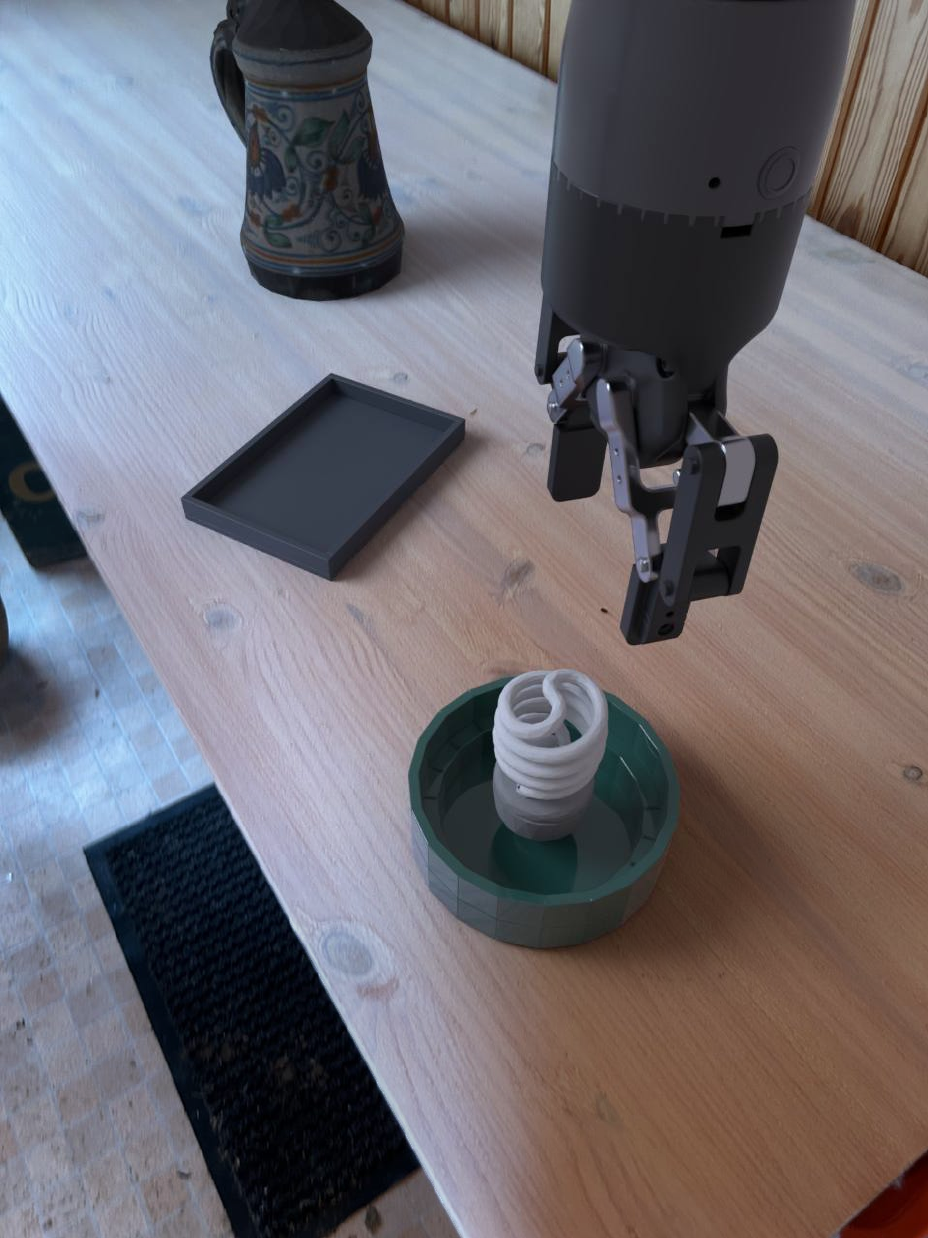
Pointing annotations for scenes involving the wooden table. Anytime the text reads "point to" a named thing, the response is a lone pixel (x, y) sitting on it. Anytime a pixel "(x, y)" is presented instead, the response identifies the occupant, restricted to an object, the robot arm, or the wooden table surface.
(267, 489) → the tray
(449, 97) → the wooden table surface
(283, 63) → the beer stein
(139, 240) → the wooden table surface
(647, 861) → the bowl
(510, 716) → the light bulb
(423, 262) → the wooden table surface
